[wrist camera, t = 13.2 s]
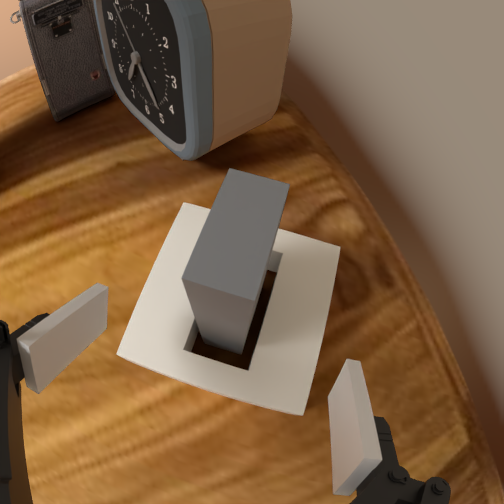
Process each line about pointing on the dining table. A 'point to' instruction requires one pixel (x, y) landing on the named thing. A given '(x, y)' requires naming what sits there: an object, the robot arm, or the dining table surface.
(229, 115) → the alarm clock
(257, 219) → the grey rectangular peg
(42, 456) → the dining table surface
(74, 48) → the camera
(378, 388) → the dining table surface
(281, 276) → the white flat frame block
